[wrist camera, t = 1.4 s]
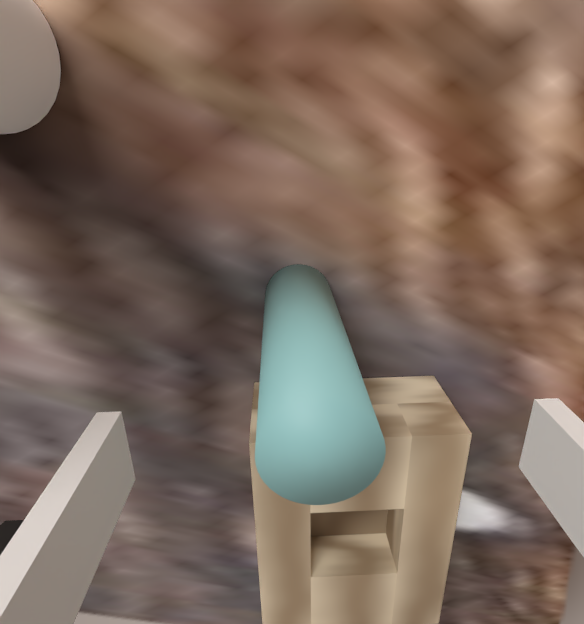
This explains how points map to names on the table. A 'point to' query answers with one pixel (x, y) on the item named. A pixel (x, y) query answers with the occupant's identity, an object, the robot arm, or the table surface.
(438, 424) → the block
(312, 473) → the pin
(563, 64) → the table surface
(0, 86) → the cylindrical container
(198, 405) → the table surface
